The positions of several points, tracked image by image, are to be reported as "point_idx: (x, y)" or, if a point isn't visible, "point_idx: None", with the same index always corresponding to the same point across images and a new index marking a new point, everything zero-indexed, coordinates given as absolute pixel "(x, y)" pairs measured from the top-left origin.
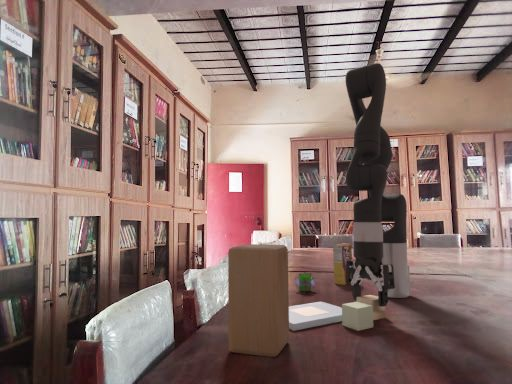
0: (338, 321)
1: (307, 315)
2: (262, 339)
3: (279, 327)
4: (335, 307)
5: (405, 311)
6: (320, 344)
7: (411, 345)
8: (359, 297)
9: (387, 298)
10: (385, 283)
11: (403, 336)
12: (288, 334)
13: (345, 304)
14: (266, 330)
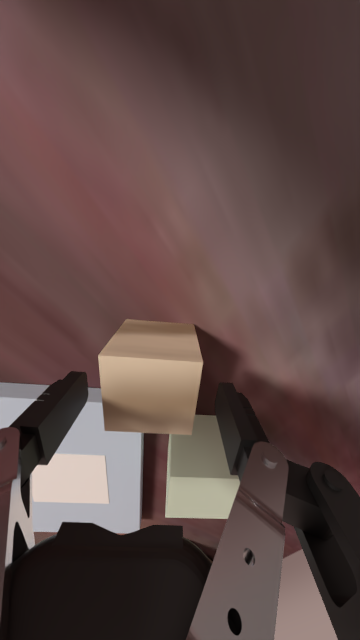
0: (143, 442)
1: (101, 498)
2: None
3: None
4: None
5: (190, 163)
6: (218, 519)
7: (337, 444)
8: (122, 430)
9: (254, 415)
10: (321, 559)
11: (307, 418)
12: None
13: (174, 513)
14: None
